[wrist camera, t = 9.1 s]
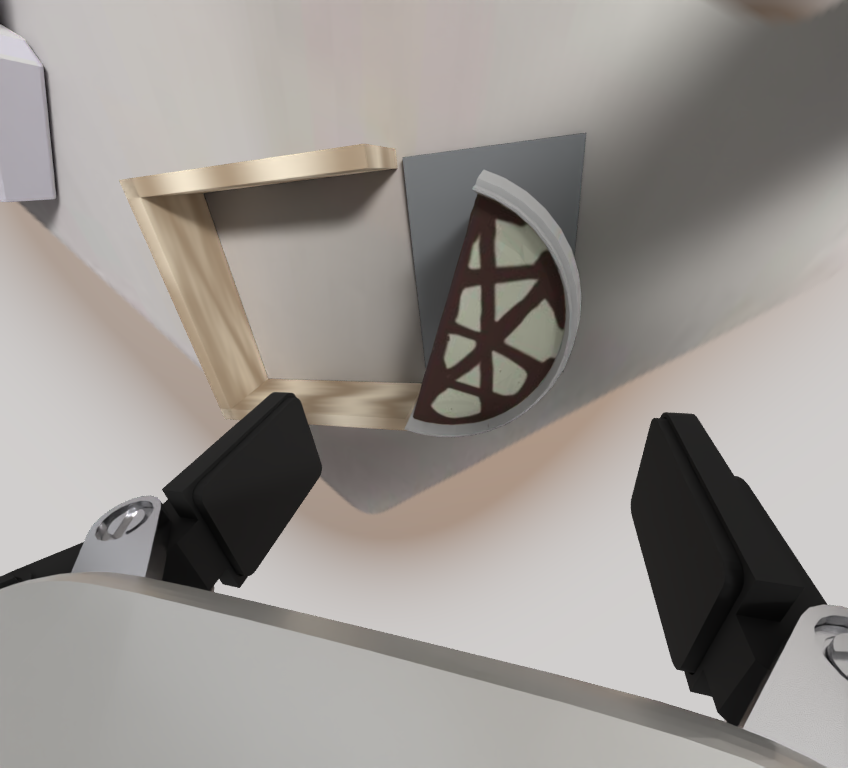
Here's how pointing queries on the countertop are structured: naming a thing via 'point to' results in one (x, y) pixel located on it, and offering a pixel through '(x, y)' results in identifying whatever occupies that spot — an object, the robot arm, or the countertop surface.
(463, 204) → the mat
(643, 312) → the countertop surface
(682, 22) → the countertop surface
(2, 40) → the charger
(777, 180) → the countertop surface
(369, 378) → the countertop surface
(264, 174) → the open box
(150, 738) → the robot arm
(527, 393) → the food container
